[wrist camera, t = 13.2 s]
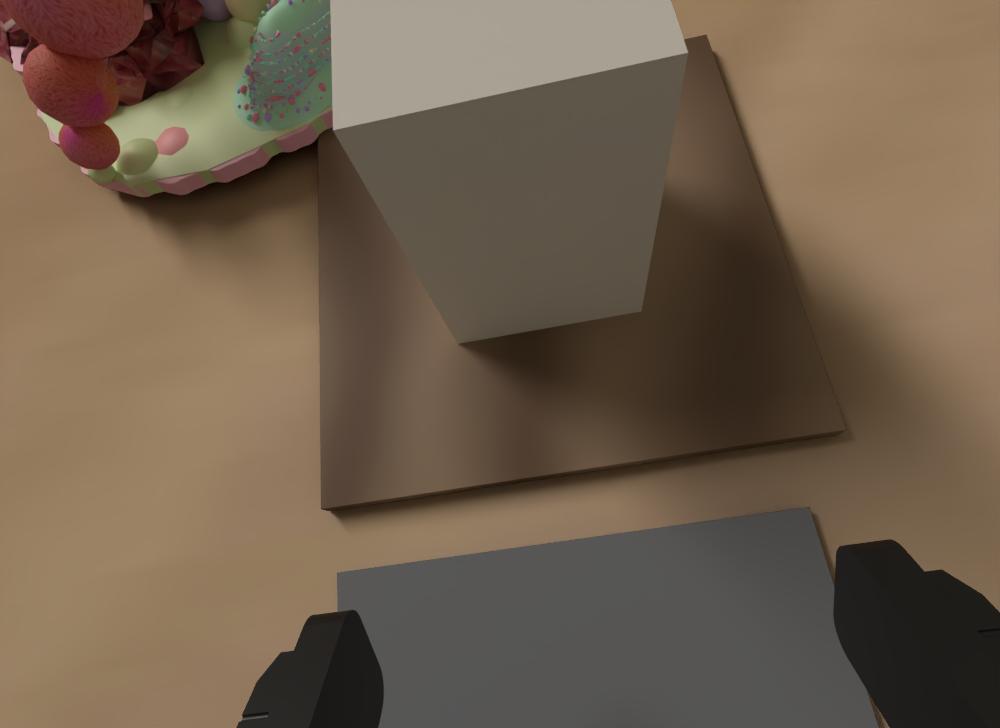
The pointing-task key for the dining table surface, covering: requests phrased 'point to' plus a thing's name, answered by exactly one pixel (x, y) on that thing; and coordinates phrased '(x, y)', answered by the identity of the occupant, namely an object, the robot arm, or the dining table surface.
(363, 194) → the board
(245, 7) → the pastel sphere sculpture
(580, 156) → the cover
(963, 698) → the robot arm
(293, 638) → the dining table surface
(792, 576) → the mat
